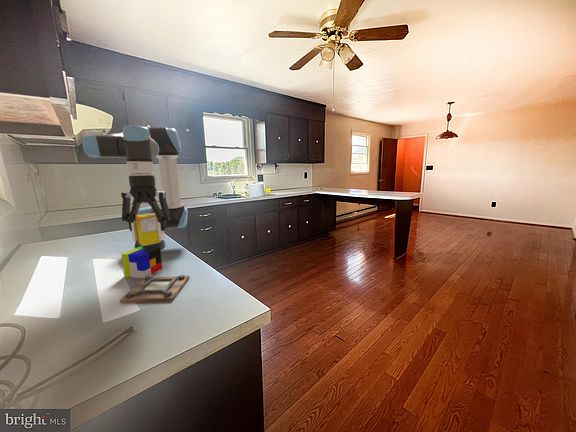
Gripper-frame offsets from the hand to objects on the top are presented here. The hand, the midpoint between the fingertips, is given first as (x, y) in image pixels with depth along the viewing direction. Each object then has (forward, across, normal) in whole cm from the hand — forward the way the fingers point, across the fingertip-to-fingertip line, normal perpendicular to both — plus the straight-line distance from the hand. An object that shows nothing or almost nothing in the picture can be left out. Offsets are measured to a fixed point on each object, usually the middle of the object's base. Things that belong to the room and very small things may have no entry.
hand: (149, 239), depth 85 cm
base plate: (+19, +1, 0) cm, 19 cm away
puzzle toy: (+20, -12, +16) cm, 28 cm away
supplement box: (+2, 0, 0) cm, 2 cm away
